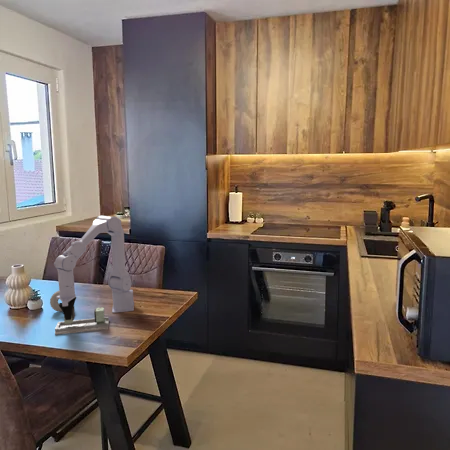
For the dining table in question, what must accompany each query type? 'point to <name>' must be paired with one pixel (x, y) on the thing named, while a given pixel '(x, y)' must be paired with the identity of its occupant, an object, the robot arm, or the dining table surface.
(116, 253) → the robot arm
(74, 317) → the pale green cuboid
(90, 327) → the tray
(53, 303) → the donut
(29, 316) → the dining table surface
